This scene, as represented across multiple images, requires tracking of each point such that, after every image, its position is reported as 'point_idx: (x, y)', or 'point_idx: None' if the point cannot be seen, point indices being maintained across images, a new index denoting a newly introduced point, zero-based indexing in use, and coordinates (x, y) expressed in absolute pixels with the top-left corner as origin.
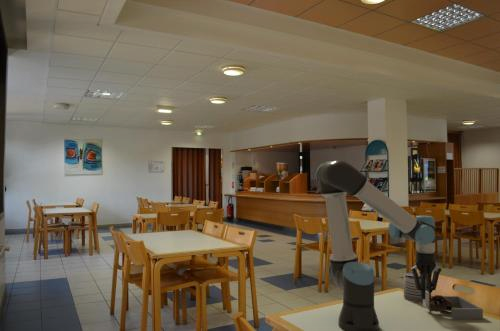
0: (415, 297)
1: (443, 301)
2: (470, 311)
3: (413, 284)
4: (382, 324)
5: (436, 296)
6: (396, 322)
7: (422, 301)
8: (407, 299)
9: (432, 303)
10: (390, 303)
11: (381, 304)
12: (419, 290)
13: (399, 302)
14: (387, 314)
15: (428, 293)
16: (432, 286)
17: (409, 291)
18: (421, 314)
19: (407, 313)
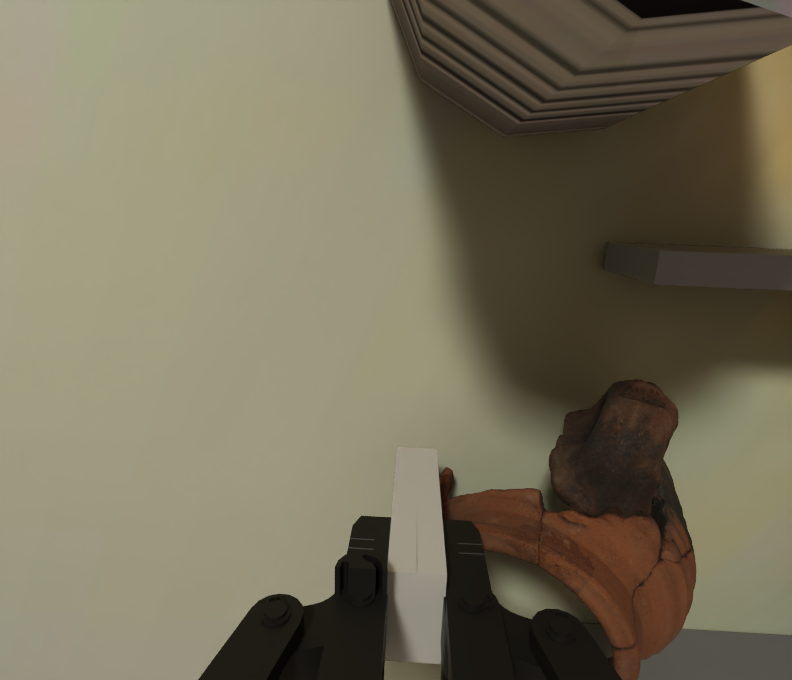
0: (473, 99)
1: (655, 508)
2: None
3: (472, 5)
4: None
5: (565, 582)
6: (41, 671)
7: (554, 131)
8: (396, 13)
9: (613, 269)
10: (121, 165)
11: (4, 202)
12: (551, 103)
13: (247, 125)
14: (7, 506)
15: (428, 648)
16: (573, 671)
17: (408, 2)
18: (328, 522)
19: (204, 491)
